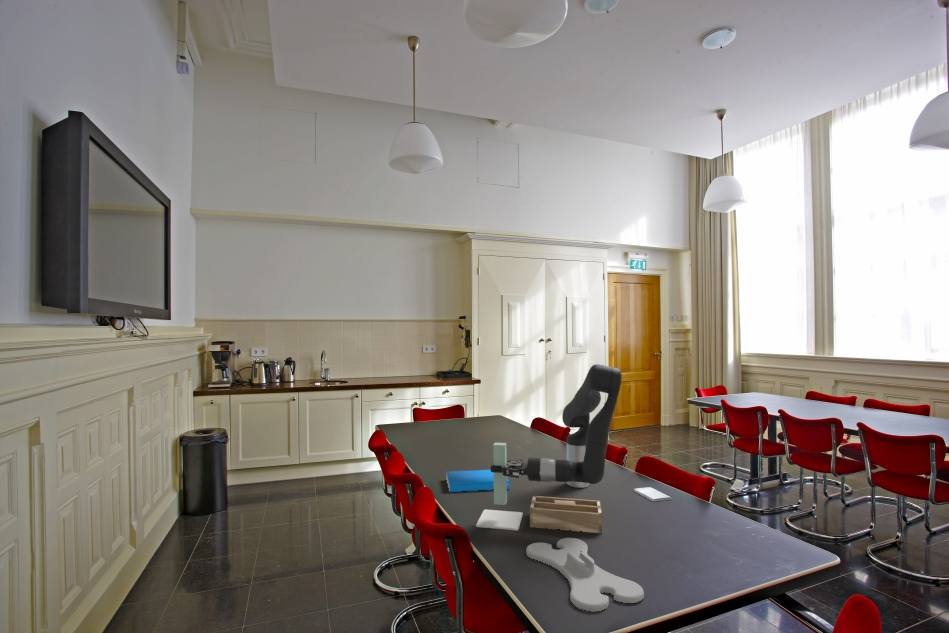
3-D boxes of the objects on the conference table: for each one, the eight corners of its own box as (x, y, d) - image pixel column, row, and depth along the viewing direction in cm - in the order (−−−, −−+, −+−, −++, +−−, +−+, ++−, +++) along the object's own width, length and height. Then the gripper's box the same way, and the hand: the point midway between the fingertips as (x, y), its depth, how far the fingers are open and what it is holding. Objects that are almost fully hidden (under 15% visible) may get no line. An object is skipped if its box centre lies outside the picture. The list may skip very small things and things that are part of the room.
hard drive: (671, 497, 179) (650, 486, 191) (653, 499, 176) (633, 488, 188) (671, 501, 179) (650, 490, 191) (653, 503, 176) (633, 492, 188)
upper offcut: (554, 508, 162) (554, 500, 163) (574, 509, 162) (574, 501, 162) (554, 512, 159) (554, 503, 159) (575, 513, 158) (575, 504, 158)
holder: (582, 617, 106) (582, 594, 106) (521, 551, 138) (521, 533, 138) (652, 601, 112) (651, 580, 112) (577, 541, 144) (577, 525, 144)
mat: (484, 511, 168) (484, 509, 168) (522, 514, 165) (522, 512, 165) (476, 526, 154) (476, 525, 154) (518, 530, 151) (518, 528, 151)
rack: (533, 512, 166) (533, 495, 166) (599, 518, 161) (599, 500, 161) (529, 527, 154) (529, 508, 154) (601, 533, 149) (601, 514, 149)
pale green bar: (495, 500, 161) (495, 442, 162) (507, 501, 161) (506, 443, 161) (493, 504, 158) (493, 444, 159) (505, 505, 157) (504, 445, 158)
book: (445, 471, 204) (501, 468, 208) (445, 481, 204) (501, 478, 207) (449, 484, 187) (510, 480, 191) (449, 494, 187) (510, 490, 191)
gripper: (543, 453, 164) (495, 451, 168) (540, 464, 150) (488, 461, 154) (543, 474, 164) (495, 472, 167) (540, 487, 150) (488, 484, 153)
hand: (492, 467), depth 160 cm, fingers closed on pale green bar, 3 cm apart
